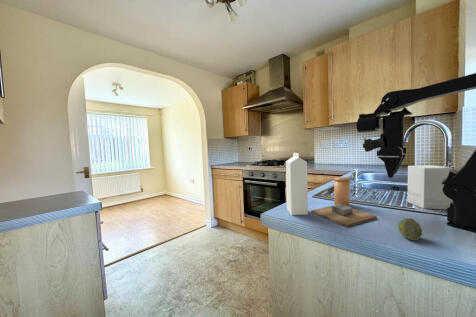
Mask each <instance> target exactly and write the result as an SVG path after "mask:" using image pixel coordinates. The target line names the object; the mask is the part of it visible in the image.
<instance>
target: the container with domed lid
mask: <svg viewBox="0 0 476 317" xmlns="http://www.w3.org/2000/svg"><path fill="white" fill-rule="evenodd" d="M333 183H334V184H333V186H334V187H333V193H334V194H333V195H334V196H333V202H334V203H333V204H334V205H340V204H342V205H345V206H348V207H351V178H350V177H345V176H337V177H333Z"/></svg>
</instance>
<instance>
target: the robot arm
mask: <svg viewBox="0 0 476 317" xmlns="http://www.w3.org/2000/svg"><path fill="white" fill-rule="evenodd" d="M473 90H476V72H474V73H470V74H466V75H464V76H463V75H462V76H460V77H456V78H451V79H449V80H448V79H447V80H445V81H441V82H437V83H434V84H430V85H425V86H423V87H419V88H407V89H400V90H399V89H398V90H392V91H389V92H386V93H385V94H384V95H383V96H382V97H381V101H380V103H379V105H378V106H377V108H376V109H375V110H374V111H373V112H371V113H360V114H358V118H357V120H356V130H357V132H358V133H371V132H374V133H375V132H378V130H379V129H381V130H382V133H380V134H379V138H377V139H374V140H373V139H372V138H367V139H364V142H363V143H362V148H363V149H364V151H365V152H366V153H367V152H371V151H373V150H376V149H377V150H376V157H377V158H378V159H380V160H381V162H382V161H383V163H384V166H385V170H386V174H387V178H394V175H396V174H397V173H398V171H399V169H400V167H401V165H402V163H403V162H404V160H405V158H406V156H407V153H408V149H407V147H406V146H405V116H413V112H411V111H410V110H408V107H410V106H413V105H415V104H417V103H420V102H423V101H427V100H432V99H436V98H441V97H445V96H450V95H454V94H458V93H463V92H467V91H473ZM441 184H444V186H443V193H444V195H446V196H447V197H448V198H450V199H452V203H450V207H448V208H447V209H446V221H447V222H446V223H445V224H446V225H447V226H451V227H453V228H458V229H462V230H467V231H469V232H470V231H471V232H474V233H476V148H475V149H474V150H473V152H472V154H470V156H469V158H468V159H467V160H466V161H465V162H464V164H463V165H462V166H461V167H460V168H459V169H458V170H454V169H453V170H452V169H451V170H450V172H449V174H448V176H447V177H446V178H445V179H444V180H443V181H442V183H441Z"/></svg>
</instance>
